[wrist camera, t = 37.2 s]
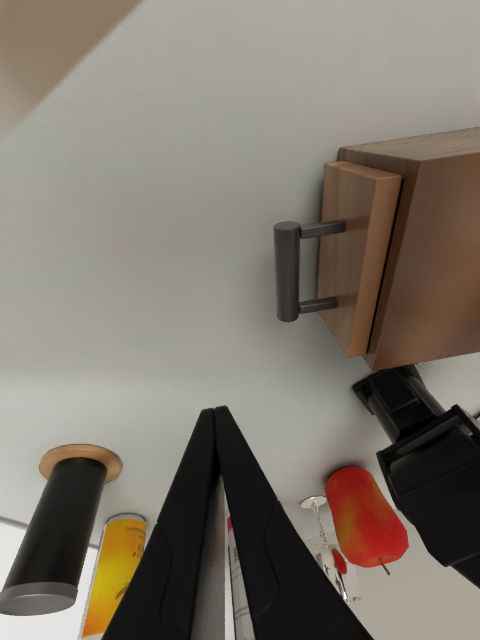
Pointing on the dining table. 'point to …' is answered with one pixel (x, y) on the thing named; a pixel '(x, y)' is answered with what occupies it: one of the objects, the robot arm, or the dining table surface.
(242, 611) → the spray bottle
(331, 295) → the drawer
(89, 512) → the spice tin
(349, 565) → the wineglass
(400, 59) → the dining table surface
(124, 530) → the beer can
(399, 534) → the apple
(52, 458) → the coaster
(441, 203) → the cabinet
